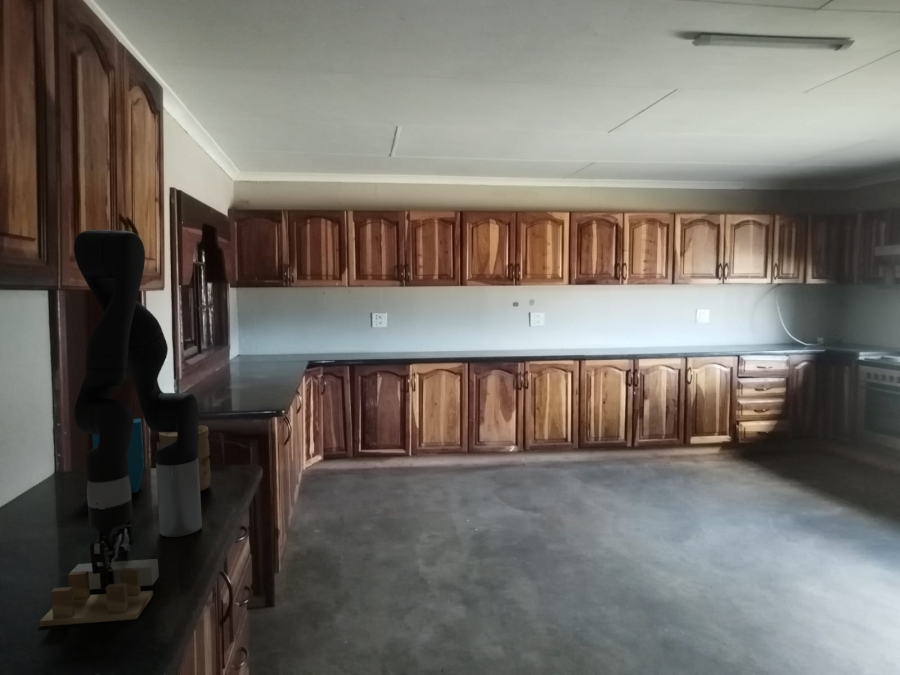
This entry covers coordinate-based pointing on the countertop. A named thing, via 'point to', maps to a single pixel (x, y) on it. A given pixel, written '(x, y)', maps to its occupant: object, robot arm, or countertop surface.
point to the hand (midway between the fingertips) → (115, 579)
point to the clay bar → (146, 568)
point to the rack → (97, 600)
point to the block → (132, 455)
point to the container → (202, 453)
